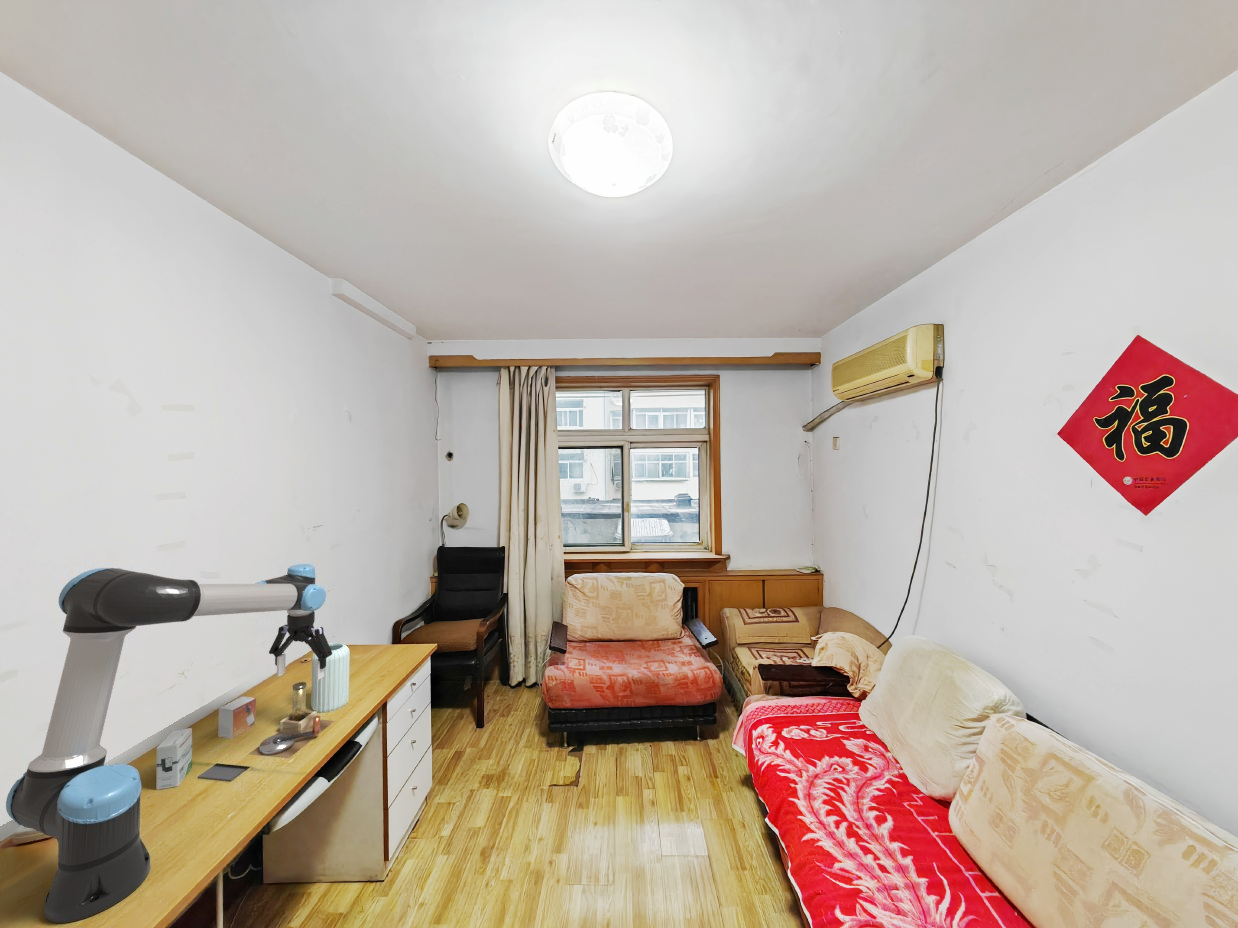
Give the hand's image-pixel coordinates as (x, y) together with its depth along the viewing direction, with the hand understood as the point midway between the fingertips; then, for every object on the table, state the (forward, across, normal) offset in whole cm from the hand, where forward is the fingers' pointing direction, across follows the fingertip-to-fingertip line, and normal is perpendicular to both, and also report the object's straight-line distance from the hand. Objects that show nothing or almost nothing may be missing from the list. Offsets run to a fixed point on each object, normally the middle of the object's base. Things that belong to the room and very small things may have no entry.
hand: (300, 676), depth 159 cm
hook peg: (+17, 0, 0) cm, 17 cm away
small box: (+18, +18, +5) cm, 26 cm away
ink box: (+18, +17, +26) cm, 36 cm away
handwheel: (+16, -4, +9) cm, 19 cm away
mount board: (+18, -2, +6) cm, 19 cm away
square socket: (+17, 0, 0) cm, 17 cm away
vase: (+18, 0, -14) cm, 23 cm away
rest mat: (+18, +6, +20) cm, 27 cm away
